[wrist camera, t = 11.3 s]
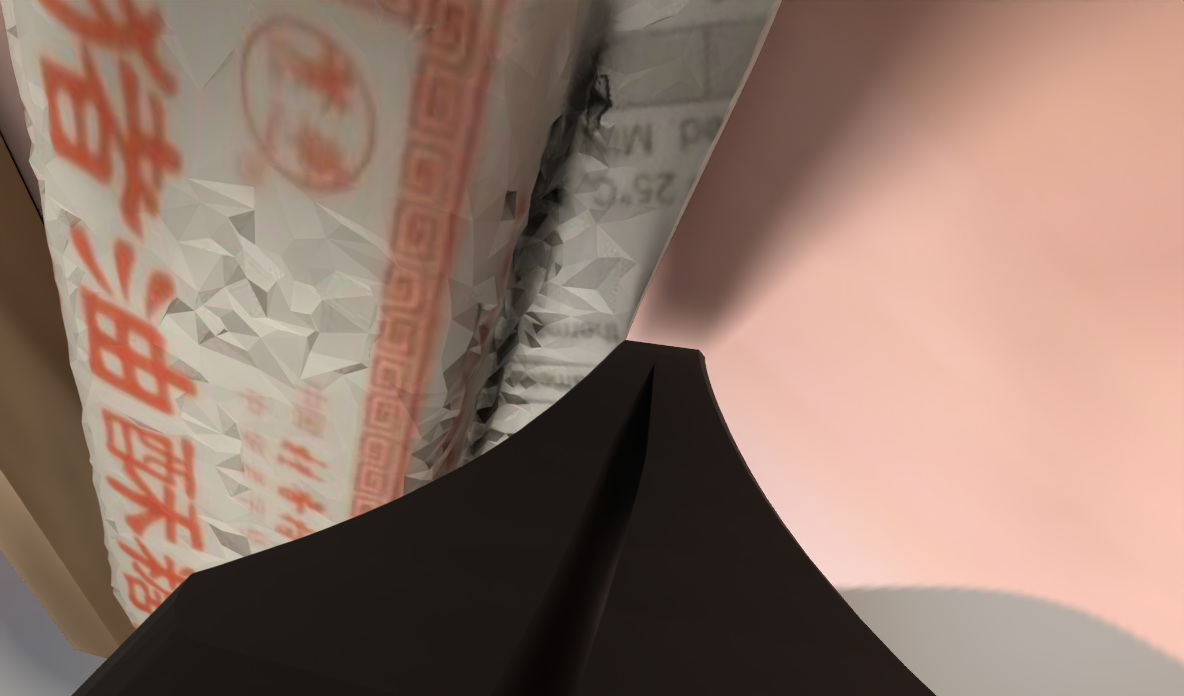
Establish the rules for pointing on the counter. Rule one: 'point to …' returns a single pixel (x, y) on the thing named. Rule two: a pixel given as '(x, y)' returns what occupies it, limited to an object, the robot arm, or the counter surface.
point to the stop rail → (47, 441)
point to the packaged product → (347, 237)
